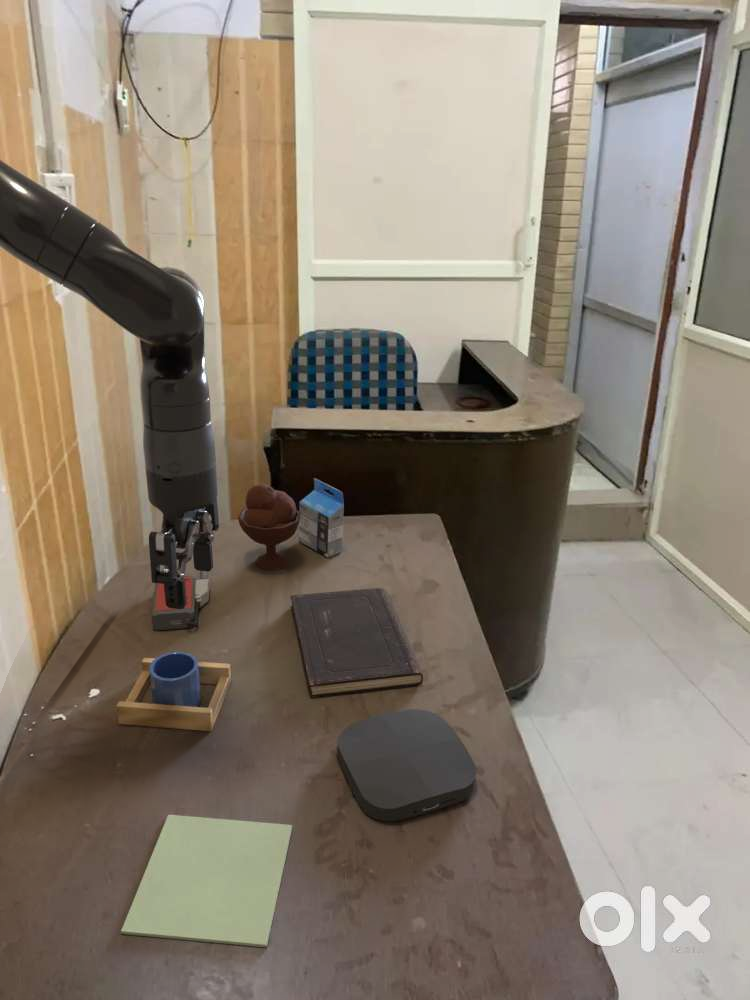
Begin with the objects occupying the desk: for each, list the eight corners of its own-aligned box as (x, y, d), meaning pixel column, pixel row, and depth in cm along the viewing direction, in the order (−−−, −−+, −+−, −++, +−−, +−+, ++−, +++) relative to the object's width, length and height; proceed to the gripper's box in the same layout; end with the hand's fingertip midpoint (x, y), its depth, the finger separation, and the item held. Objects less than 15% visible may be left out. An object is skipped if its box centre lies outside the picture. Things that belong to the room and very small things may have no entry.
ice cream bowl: (256, 583, 131) (253, 504, 124) (231, 555, 139) (227, 480, 133) (311, 568, 136) (311, 492, 130) (284, 542, 144) (282, 469, 138)
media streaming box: (328, 743, 96) (328, 725, 95) (432, 717, 101) (433, 699, 100) (370, 832, 84) (371, 812, 83) (486, 797, 89) (489, 778, 88)
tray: (118, 724, 98) (116, 705, 97) (146, 674, 107) (144, 657, 106) (211, 731, 97) (210, 713, 96) (231, 681, 107) (230, 663, 105)
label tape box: (297, 541, 145) (297, 482, 140) (314, 535, 148) (314, 477, 142) (327, 559, 139) (327, 498, 134) (344, 552, 142) (345, 492, 137)
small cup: (146, 715, 100) (142, 678, 97) (162, 685, 105) (158, 649, 103) (193, 719, 99) (189, 682, 97) (206, 688, 105) (203, 653, 103)
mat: (121, 933, 72) (120, 931, 72) (168, 817, 85) (168, 814, 85) (266, 947, 71) (266, 944, 71) (292, 827, 84) (292, 824, 84)
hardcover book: (309, 698, 104) (309, 685, 103) (290, 607, 124) (290, 595, 123) (422, 685, 107) (423, 672, 106) (385, 598, 128) (386, 587, 127)
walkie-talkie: (209, 631, 117) (209, 567, 135) (208, 607, 116) (208, 545, 133) (150, 636, 116) (158, 570, 133) (148, 611, 114) (156, 548, 132)
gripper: (173, 435, 90) (183, 555, 97) (117, 482, 77) (133, 617, 84) (234, 441, 89) (240, 562, 96) (188, 489, 76) (198, 625, 83)
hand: (190, 587), depth 90 cm, fingers open, 8 cm apart
